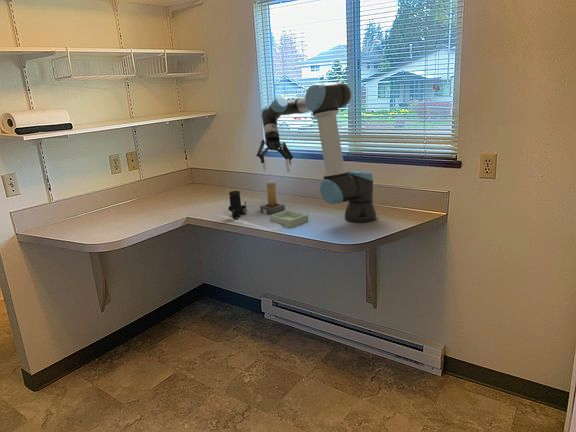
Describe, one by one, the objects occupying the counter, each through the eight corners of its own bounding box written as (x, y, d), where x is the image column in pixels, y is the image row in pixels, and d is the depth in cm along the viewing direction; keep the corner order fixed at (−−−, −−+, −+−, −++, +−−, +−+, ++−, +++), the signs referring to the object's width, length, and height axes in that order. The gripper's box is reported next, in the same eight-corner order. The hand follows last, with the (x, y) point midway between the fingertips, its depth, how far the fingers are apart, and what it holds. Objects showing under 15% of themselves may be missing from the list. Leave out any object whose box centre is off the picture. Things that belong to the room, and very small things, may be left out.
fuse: (278, 210, 231) (277, 180, 226) (272, 212, 228) (270, 182, 223) (272, 209, 234) (271, 179, 229) (266, 211, 231) (264, 181, 226)
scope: (246, 189, 225) (240, 194, 216) (248, 215, 229) (242, 221, 220) (230, 189, 227) (224, 194, 217) (233, 215, 231) (226, 220, 221)
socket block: (289, 212, 231) (288, 204, 230) (272, 217, 223) (271, 209, 222) (273, 208, 239) (272, 201, 238) (256, 213, 231) (256, 206, 230)
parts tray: (308, 221, 214) (307, 214, 213) (290, 227, 206) (290, 220, 205) (287, 216, 224) (287, 209, 223) (270, 222, 216) (269, 215, 215)
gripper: (289, 140, 244) (295, 174, 237) (247, 135, 233) (252, 171, 226) (295, 133, 238) (301, 168, 231) (252, 127, 227) (257, 164, 219)
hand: (277, 169), depth 228 cm, fingers open, 13 cm apart
